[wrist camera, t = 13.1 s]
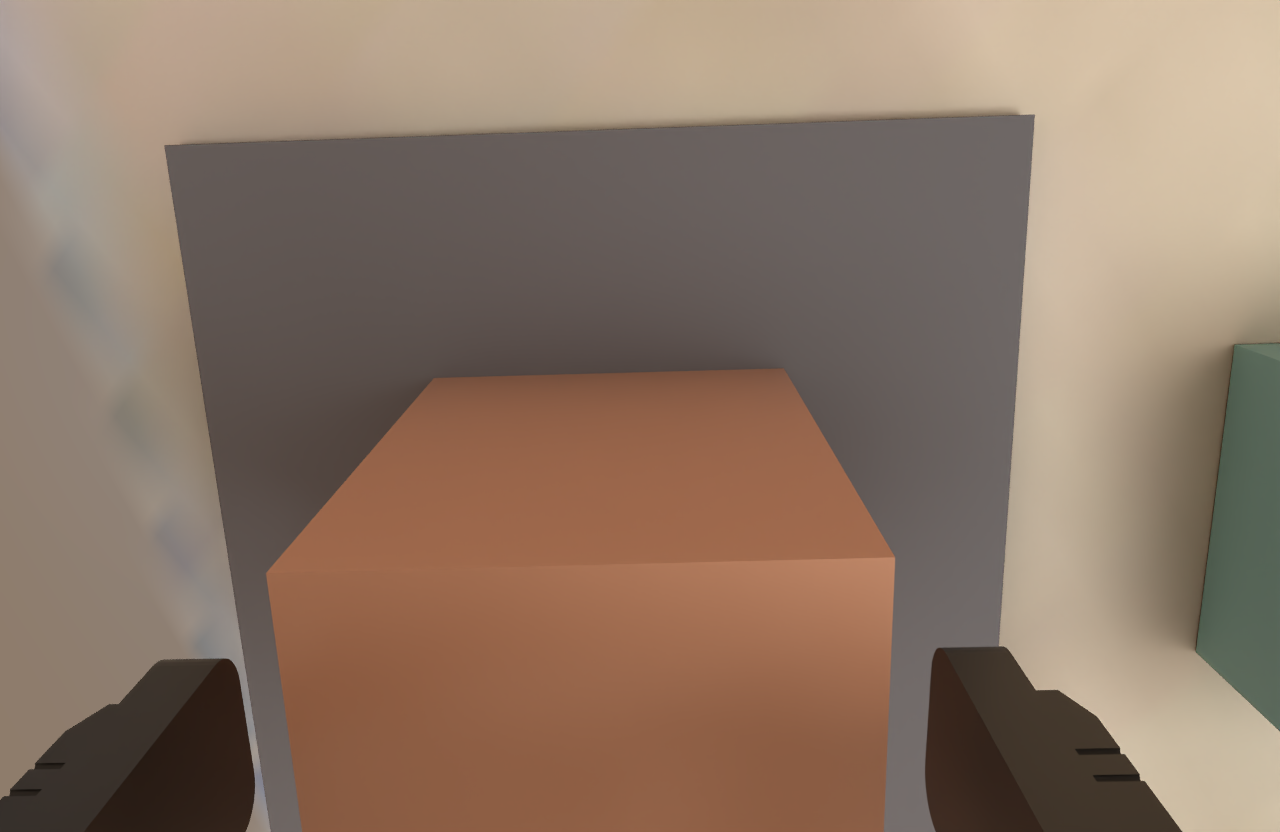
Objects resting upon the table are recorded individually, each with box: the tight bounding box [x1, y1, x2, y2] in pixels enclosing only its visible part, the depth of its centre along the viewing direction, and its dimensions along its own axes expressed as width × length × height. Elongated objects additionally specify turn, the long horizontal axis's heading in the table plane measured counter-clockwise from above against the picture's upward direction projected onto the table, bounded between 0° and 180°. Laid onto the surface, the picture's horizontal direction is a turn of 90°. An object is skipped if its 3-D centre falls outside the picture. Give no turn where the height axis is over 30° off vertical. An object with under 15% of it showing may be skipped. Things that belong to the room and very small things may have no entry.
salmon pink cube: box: [266, 368, 895, 832], centre depth 14 cm, size 6×6×8 cm
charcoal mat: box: [164, 115, 1035, 832], centre depth 18 cm, size 14×14×1 cm
